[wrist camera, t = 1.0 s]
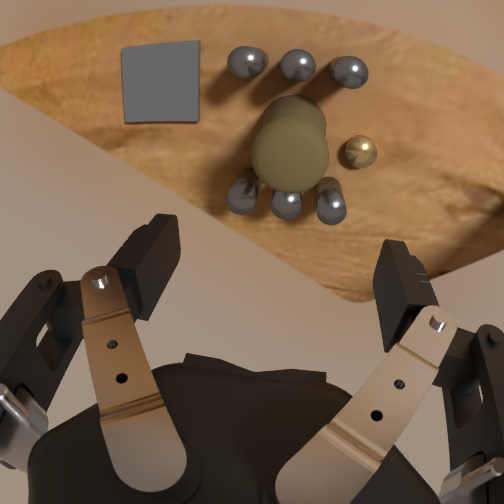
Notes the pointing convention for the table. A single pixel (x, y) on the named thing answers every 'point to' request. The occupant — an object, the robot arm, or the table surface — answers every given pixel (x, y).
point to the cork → (291, 145)
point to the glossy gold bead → (360, 151)
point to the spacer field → (247, 182)
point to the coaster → (162, 82)
